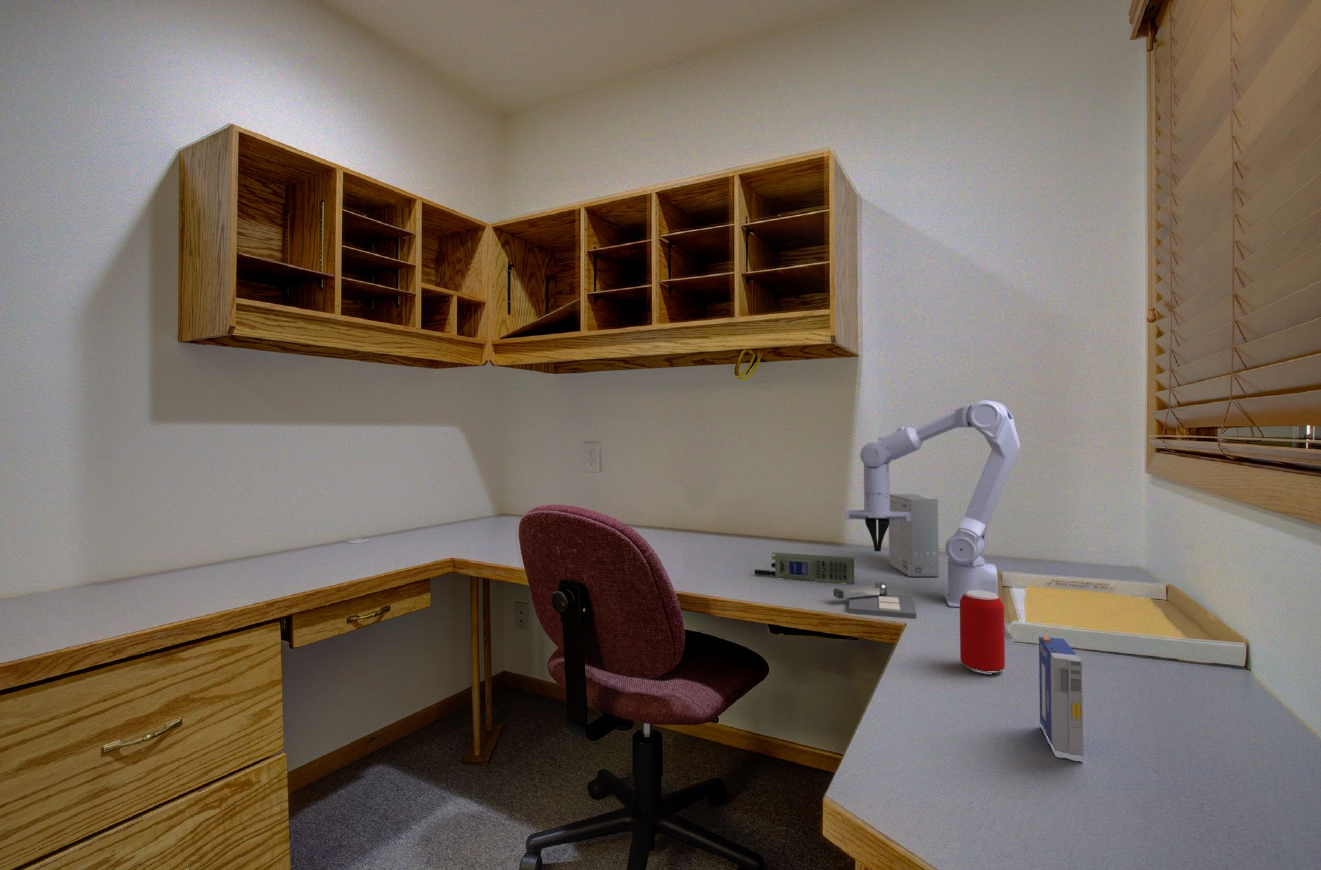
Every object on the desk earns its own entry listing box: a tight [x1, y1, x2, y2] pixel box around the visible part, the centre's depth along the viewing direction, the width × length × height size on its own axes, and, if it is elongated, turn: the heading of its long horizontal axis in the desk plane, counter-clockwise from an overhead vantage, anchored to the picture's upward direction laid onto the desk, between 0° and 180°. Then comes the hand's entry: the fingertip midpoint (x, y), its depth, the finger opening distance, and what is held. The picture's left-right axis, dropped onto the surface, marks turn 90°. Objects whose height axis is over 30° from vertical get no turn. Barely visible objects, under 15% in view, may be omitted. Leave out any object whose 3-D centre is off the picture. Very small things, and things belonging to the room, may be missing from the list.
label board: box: [848, 594, 918, 619], centre depth 128 cm, size 13×13×1 cm
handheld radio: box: [753, 551, 855, 585], centre depth 153 cm, size 7×3×25 cm
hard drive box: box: [888, 493, 940, 578], centre depth 160 cm, size 16×8×20 cm, turn 179°
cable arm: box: [833, 581, 888, 600], centre depth 132 cm, size 3×12×2 cm, turn 104°
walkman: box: [1038, 636, 1084, 758], centre depth 72 cm, size 8×3×12 cm, turn 159°
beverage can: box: [959, 590, 1006, 674], centre depth 95 cm, size 6×6×12 cm
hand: (877, 550), depth 141 cm, fingers closed
